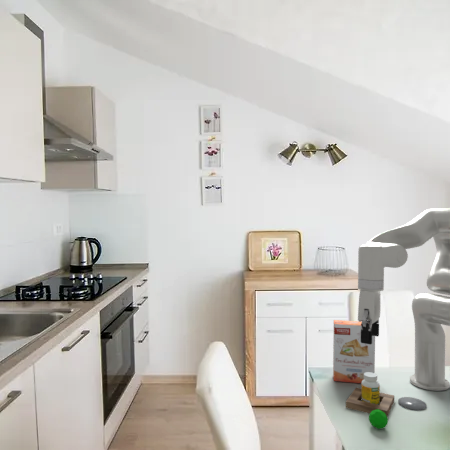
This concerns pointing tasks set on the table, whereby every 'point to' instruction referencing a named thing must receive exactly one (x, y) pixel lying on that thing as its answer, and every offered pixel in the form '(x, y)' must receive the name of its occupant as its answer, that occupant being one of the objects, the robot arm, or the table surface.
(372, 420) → the polyhedron
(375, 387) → the supplement bottle
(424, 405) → the slate coaster
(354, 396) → the holder block
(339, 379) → the cracker box
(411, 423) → the table surface
